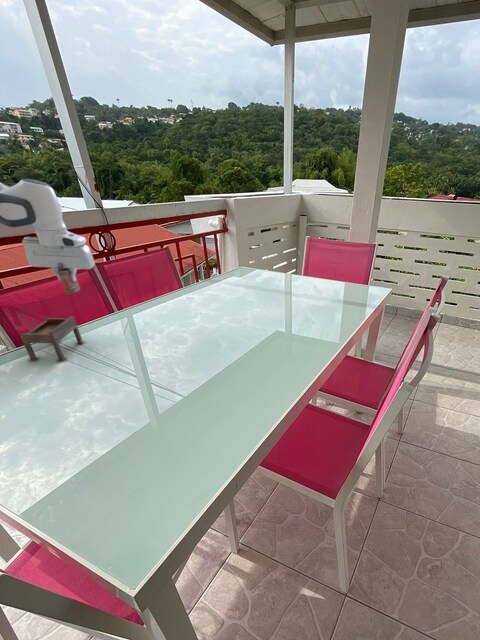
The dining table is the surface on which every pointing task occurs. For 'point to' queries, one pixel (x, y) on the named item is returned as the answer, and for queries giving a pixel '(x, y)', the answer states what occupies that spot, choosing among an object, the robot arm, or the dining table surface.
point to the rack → (51, 334)
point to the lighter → (67, 280)
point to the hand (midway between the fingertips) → (67, 280)
